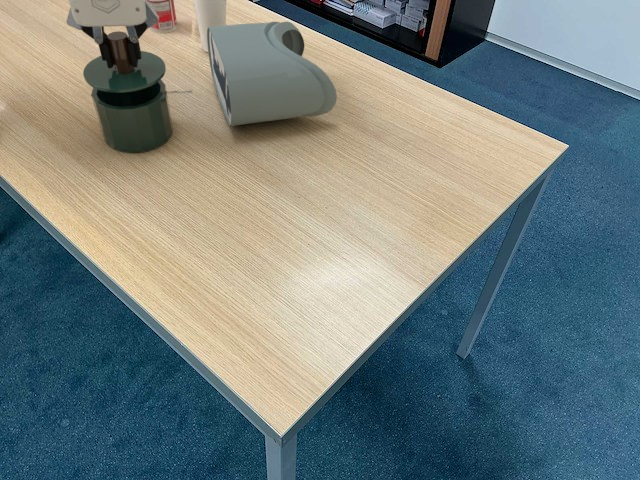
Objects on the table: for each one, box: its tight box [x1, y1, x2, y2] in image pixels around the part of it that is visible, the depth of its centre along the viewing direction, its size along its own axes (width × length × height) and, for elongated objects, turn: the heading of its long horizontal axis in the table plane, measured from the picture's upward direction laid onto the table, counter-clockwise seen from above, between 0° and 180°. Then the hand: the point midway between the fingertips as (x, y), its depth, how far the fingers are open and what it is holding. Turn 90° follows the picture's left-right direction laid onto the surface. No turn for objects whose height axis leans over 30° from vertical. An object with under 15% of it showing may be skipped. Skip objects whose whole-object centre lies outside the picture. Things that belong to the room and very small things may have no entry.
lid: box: [82, 30, 167, 93], centre depth 85 cm, size 13×13×7 cm
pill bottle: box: [147, 0, 178, 34], centre depth 119 cm, size 6×6×11 cm
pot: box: [91, 79, 174, 154], centre depth 92 cm, size 12×12×8 cm
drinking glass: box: [192, 0, 227, 54], centre depth 113 cm, size 7×7×15 cm
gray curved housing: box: [207, 21, 338, 127], centre depth 100 cm, size 22×19×13 cm
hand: (123, 62), depth 86 cm, fingers closed on lid, 3 cm apart
